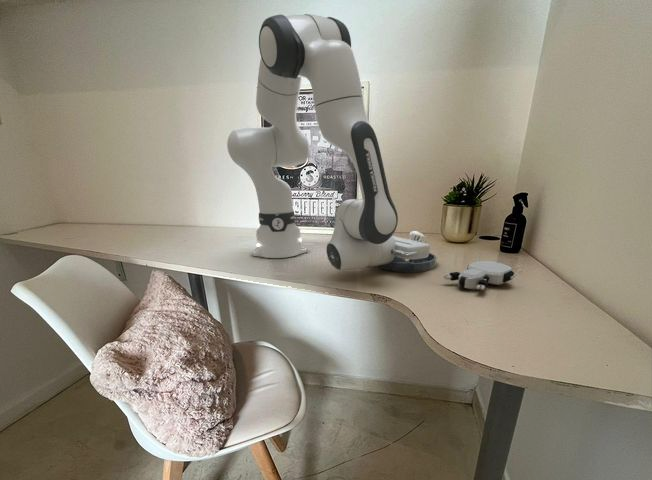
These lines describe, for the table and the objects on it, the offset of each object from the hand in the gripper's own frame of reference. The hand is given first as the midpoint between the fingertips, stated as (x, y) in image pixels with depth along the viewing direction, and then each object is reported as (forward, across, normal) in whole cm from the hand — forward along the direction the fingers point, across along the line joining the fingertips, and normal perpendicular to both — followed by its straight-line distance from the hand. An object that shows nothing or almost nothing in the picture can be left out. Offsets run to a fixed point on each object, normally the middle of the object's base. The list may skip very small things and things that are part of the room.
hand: (418, 242), depth 100 cm
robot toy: (-2, -24, +6) cm, 25 cm away
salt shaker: (-4, 0, +6) cm, 7 cm away
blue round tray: (-3, +1, +6) cm, 7 cm away
